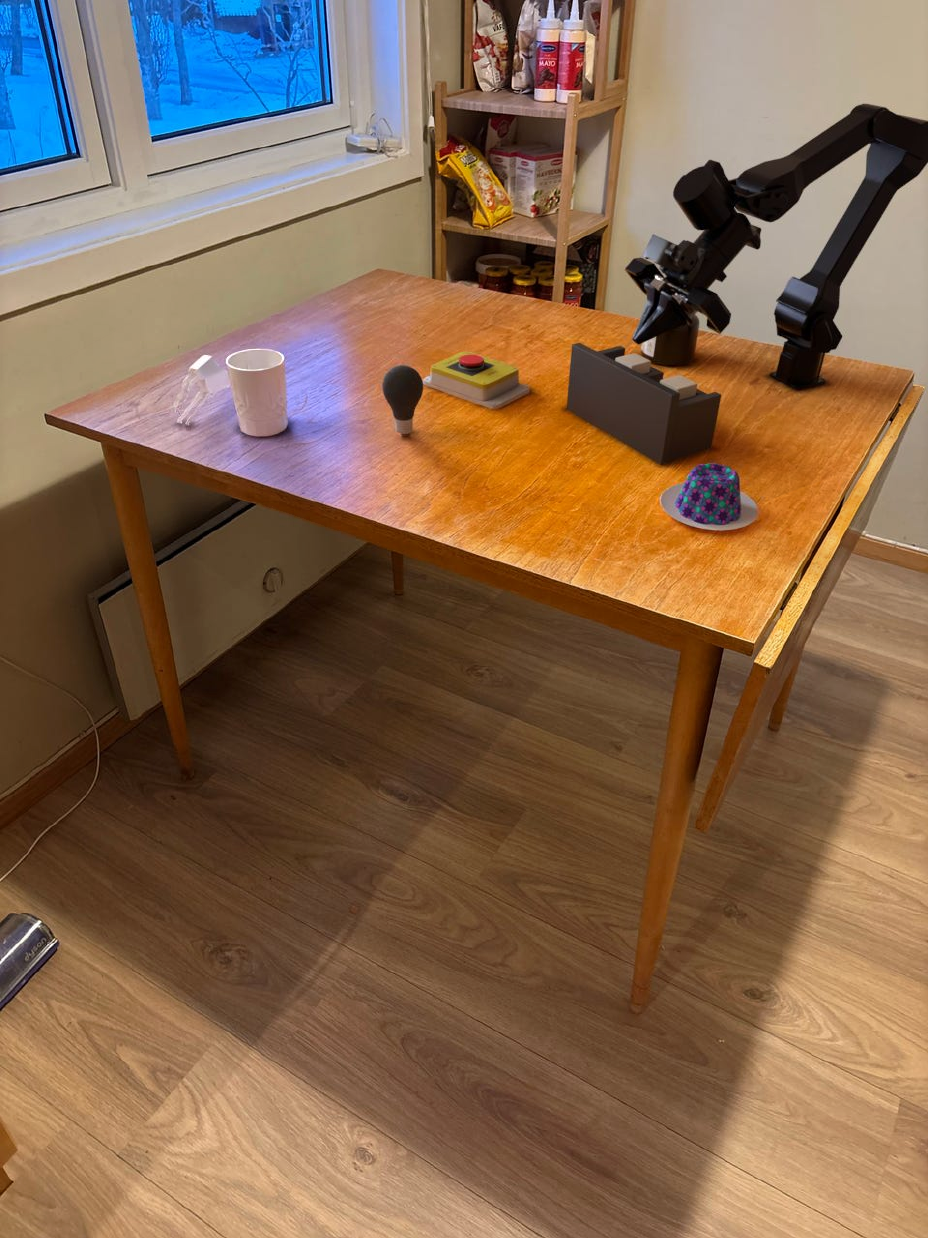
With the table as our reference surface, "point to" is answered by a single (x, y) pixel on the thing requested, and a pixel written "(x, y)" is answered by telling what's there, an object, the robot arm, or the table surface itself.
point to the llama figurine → (202, 384)
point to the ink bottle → (673, 345)
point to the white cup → (259, 391)
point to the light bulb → (403, 395)
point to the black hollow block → (638, 406)
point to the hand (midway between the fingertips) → (635, 341)
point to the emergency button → (477, 380)
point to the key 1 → (635, 362)
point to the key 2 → (681, 386)
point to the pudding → (710, 499)
